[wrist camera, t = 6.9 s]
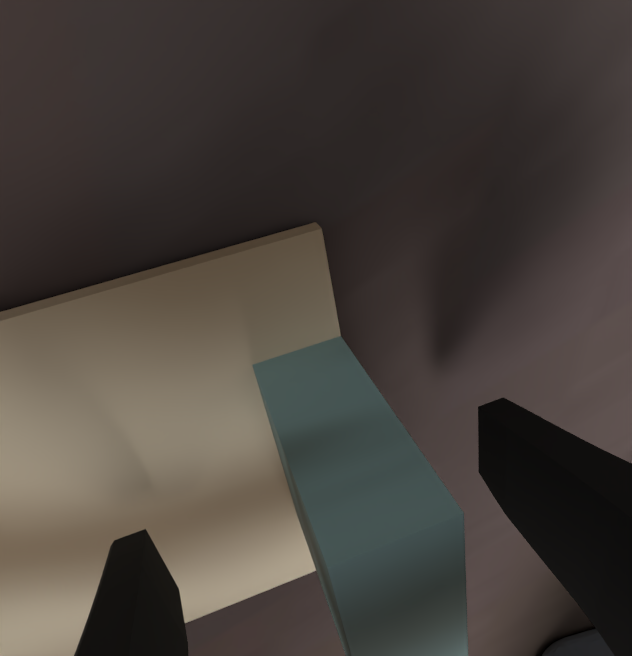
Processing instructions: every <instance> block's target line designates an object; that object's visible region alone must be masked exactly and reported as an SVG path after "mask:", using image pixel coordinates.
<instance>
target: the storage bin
mask: <svg viewBox="0 0 632 656" xmlns="http://www.w3.org/2000/svg"><path fill="white" fill-rule="evenodd" d="M542 656H614V654H613V653H612V651H611V650H610V648H609V647H608V645H607V644H606V642H605V641H604V640H603V638H602V637H601V635H600V634H599V632H598V631H597V629H592V630H589V631H585V632H582V633H578V634H575V635H571V636H568V637H565V638H562V639H560V640H558V641H556V642H554V643H553V644H551V645H550V646H549V647H548V648H547V649H546V650H545V651H544V653H543V654H542Z"/></svg>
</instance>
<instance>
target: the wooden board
mask: <svg viewBox="0 0 632 656" xmlns="http://www.w3.org/2000/svg"><path fill="white" fill-rule="evenodd" d="M144 529H146V530H147V532H148V534H149V536H150V537H151V539H152V541H153V543H154V545H155V546H156V548H157V550H158V552H159V554H160V555H161V557H162V559H163V561H164V563H165V564H166V566H167V568H168V570H169V572H170V574H171V575H172V577H173V579H174V581H175V583H176V584H177V586H178V588H179V592H180V598H181V604H182V610H183V616H184V622H185V623H187V622H190V621H192V620H195V619H197V618H200V617H202V616H205V615H207V614H210V613H212V612H214V611H217V610H219V609H222V608H224V607H227V606H229V605H232V604H234V603H237V602H239V601H242V600H244V599H247V598H249V597H252V596H254V595H257V594H259V593H262V592H264V591H267V590H269V589H272V588H274V587H277V586H279V585H282V584H284V583H287V582H289V581H292V580H294V579H297V578H299V577H302V576H304V575H306V574H309V573H311V572H314V571H317V574H318V577H319V580H320V583H321V585H322V588H323V591H324V594H325V597H326V600H327V603H328V606H329V608H330V611H331V614H332V617H333V620H334V623H335V626H336V628H337V631H338V634H339V637H340V640H341V643H342V646H343V649H344V651H345V654H346V656H468V635H467V603H466V571H465V538H464V513H463V511H462V510H461V508H460V507H459V506H458V504H457V503H456V501H455V500H454V498H453V497H452V495H451V494H450V493H449V491H448V490H447V488H446V487H445V485H444V484H443V482H442V481H441V480H440V478H439V477H438V475H437V474H436V472H435V471H434V470H433V468H432V467H431V465H430V464H429V462H428V461H427V459H426V458H425V457H424V455H423V454H422V452H421V451H420V449H419V448H418V446H417V445H416V444H415V442H414V441H413V439H412V438H411V436H410V435H409V433H408V432H407V431H406V429H405V428H404V426H403V425H402V423H401V422H400V420H399V419H398V418H397V416H396V415H395V413H394V412H393V410H392V409H391V407H390V406H389V405H388V403H387V402H386V400H385V399H384V397H383V396H382V395H381V393H380V392H379V390H378V389H377V387H376V386H375V384H374V383H373V382H372V380H371V379H370V377H369V376H368V374H367V373H366V371H365V370H364V369H363V367H362V366H361V364H360V363H359V361H358V360H357V358H356V357H355V356H354V354H353V353H352V351H351V350H350V348H349V347H348V345H347V344H346V343H345V341H344V340H343V338H342V337H341V334H340V328H339V323H338V317H337V311H336V306H335V300H334V294H333V289H332V283H331V277H330V272H329V266H328V260H327V255H326V249H325V244H324V238H323V232H322V228H321V227H320V226H319V225H318V224H317V223H316V222H314V223H311V224H307V225H304V226H300V227H297V228H293V229H290V230H286V231H283V232H279V233H276V234H272V235H269V236H265V237H262V238H258V239H255V240H251V241H248V242H244V243H241V244H237V245H234V246H230V247H227V248H223V249H220V250H216V251H213V252H209V253H205V254H202V255H198V256H195V257H191V258H188V259H184V260H181V261H177V262H174V263H170V264H167V265H163V266H160V267H156V268H153V269H149V270H146V271H142V272H139V273H135V274H132V275H128V276H125V277H121V278H118V279H114V280H111V281H107V282H104V283H100V284H97V285H93V286H90V287H86V288H83V289H79V290H76V291H72V292H69V293H65V294H62V295H58V296H55V297H51V298H47V299H44V300H40V301H37V302H33V303H30V304H26V305H23V306H19V307H16V308H12V309H9V310H5V311H2V312H0V656H74V654H75V652H76V649H77V646H78V643H79V641H80V638H81V635H82V633H83V630H84V627H85V624H86V622H87V619H88V616H89V613H90V610H91V607H92V604H93V601H94V598H95V595H96V592H97V589H98V586H99V582H100V579H101V576H102V573H103V570H104V566H105V563H106V560H107V556H108V553H109V549H110V546H111V545H112V543H113V541H114V540H117V539H119V538H122V537H125V536H127V535H130V534H133V533H136V532H138V531H141V530H144Z"/></svg>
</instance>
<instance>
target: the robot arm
mask: <svg viewBox="0 0 632 656" xmlns="http://www.w3.org/2000/svg"><path fill="white" fill-rule="evenodd" d="M478 431H479V473H480V475H481V476H482V478H483V480H484V481H485V483H486V484H487V486H488V488H489V489H490V491H491V493H492V494H493V496H494V497H495V499H496V500H497V502H498V504H499V505H500V507H501V508H502V510H503V511H504V513H505V514H506V515H507V517H508V518H509V519H510V520H511V522H512V523H513V524H514V526H515V527H516V528H517V529H518V531H519V532H520V533H521V534H522V536H523V537H524V538H525V539H526V541H527V542H528V543H529V544H530V546H531V547H532V548H533V549H534V550H535V552H536V553H537V554H538V555H539V557H540V558H541V559H542V560H543V561H544V563H545V564H546V565H547V566H548V568H549V569H550V570H551V571H552V573H553V574H554V575H555V576H556V578H557V579H558V580H559V581H560V582H561V584H562V585H563V586H564V587H565V589H566V590H567V591H568V592H569V594H570V595H571V596H572V597H573V598H574V600H575V601H576V602H577V603H578V605H579V606H580V607H581V609H582V610H583V611H584V613H585V614H586V615H587V617H588V618H589V619H590V621H591V622H592V623H593V625H594V626H595V628H596V629H597V631H598V632H599V634H600V635H601V637H602V638H603V640H604V641H605V642H606V644H607V645H608V647H609V648H610V650H611V651H612V653H613V654H614V656H632V464H631V463H629V462H627V461H625V460H623V459H621V458H619V457H616V456H614V455H612V454H610V453H608V452H606V451H604V450H602V449H600V448H598V447H596V446H594V445H592V444H590V443H588V442H586V441H584V440H582V439H580V438H579V437H577V436H575V435H573V434H571V433H569V432H567V431H565V430H563V429H561V428H559V427H558V426H556V425H554V424H552V423H550V422H548V421H546V420H544V419H543V418H541V417H539V416H537V415H535V414H533V413H532V412H530V411H528V410H526V409H524V408H522V407H520V406H519V405H517V404H515V403H513V402H511V401H509V400H507V399H505V398H501V399H498V400H495V401H493V402H490V403H487V404H484V405H482V406H479V407H478ZM74 656H188V642H187V636H186V629H185V622H184V616H183V610H182V604H181V598H180V592H179V588H178V586H177V584H176V583H175V581H174V579H173V577H172V575H171V574H170V572H169V570H168V568H167V566H166V564H165V563H164V561H163V559H162V557H161V555H160V554H159V552H158V550H157V548H156V546H155V545H154V543H153V541H152V539H151V537H150V536H149V534H148V532H147V530H146V529H144V530H141V531H138V532H136V533H133V534H130V535H127V536H125V537H122V538H119V539H117V540H114V541H113V543H112V545H111V546H110V549H109V553H108V556H107V560H106V563H105V566H104V570H103V573H102V576H101V579H100V582H99V586H98V589H97V592H96V595H95V598H94V601H93V604H92V607H91V610H90V613H89V616H88V619H87V622H86V624H85V627H84V630H83V633H82V635H81V638H80V641H79V643H78V646H77V649H76V652H75V654H74Z"/></svg>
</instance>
